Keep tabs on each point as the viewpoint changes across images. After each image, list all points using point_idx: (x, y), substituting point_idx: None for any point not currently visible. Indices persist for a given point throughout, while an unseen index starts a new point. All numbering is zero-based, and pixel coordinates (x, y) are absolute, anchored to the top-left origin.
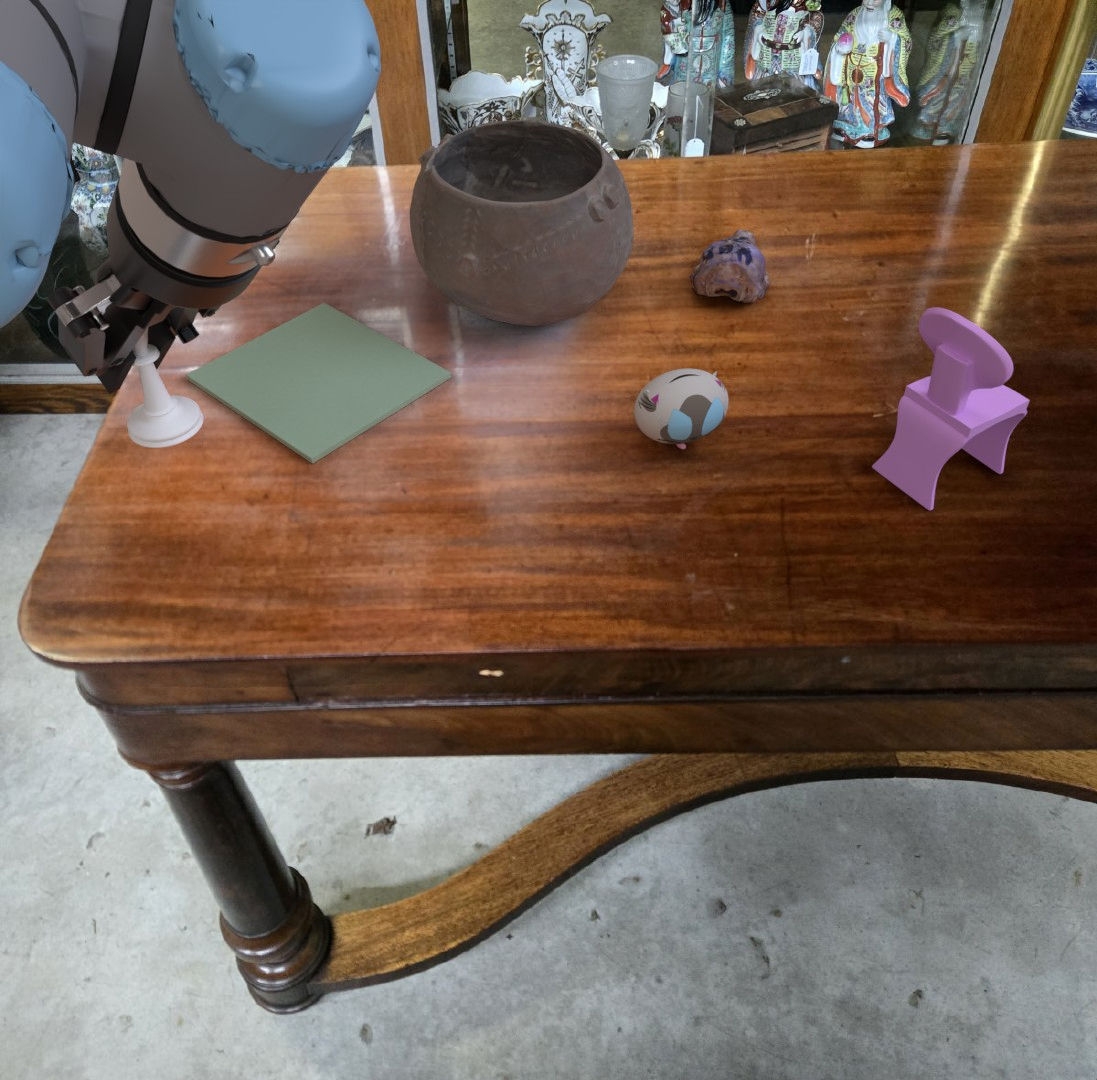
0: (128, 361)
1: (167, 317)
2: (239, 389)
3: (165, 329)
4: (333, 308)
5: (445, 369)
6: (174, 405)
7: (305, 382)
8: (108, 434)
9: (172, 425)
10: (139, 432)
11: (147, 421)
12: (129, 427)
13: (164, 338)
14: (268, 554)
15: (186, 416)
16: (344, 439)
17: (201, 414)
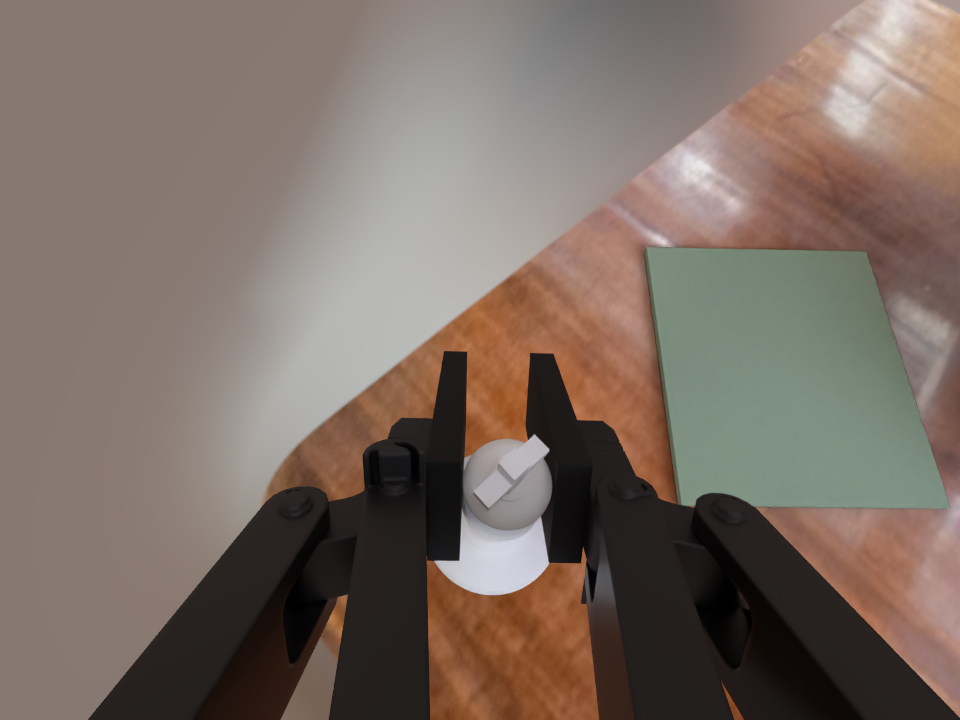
0: (435, 559)
1: (592, 550)
2: (683, 316)
3: (572, 536)
4: (871, 270)
5: (946, 496)
6: (513, 541)
7: (759, 367)
8: (520, 267)
9: (484, 569)
10: None
11: None
12: None
13: (553, 555)
14: (532, 611)
15: (518, 567)
16: None
17: None
